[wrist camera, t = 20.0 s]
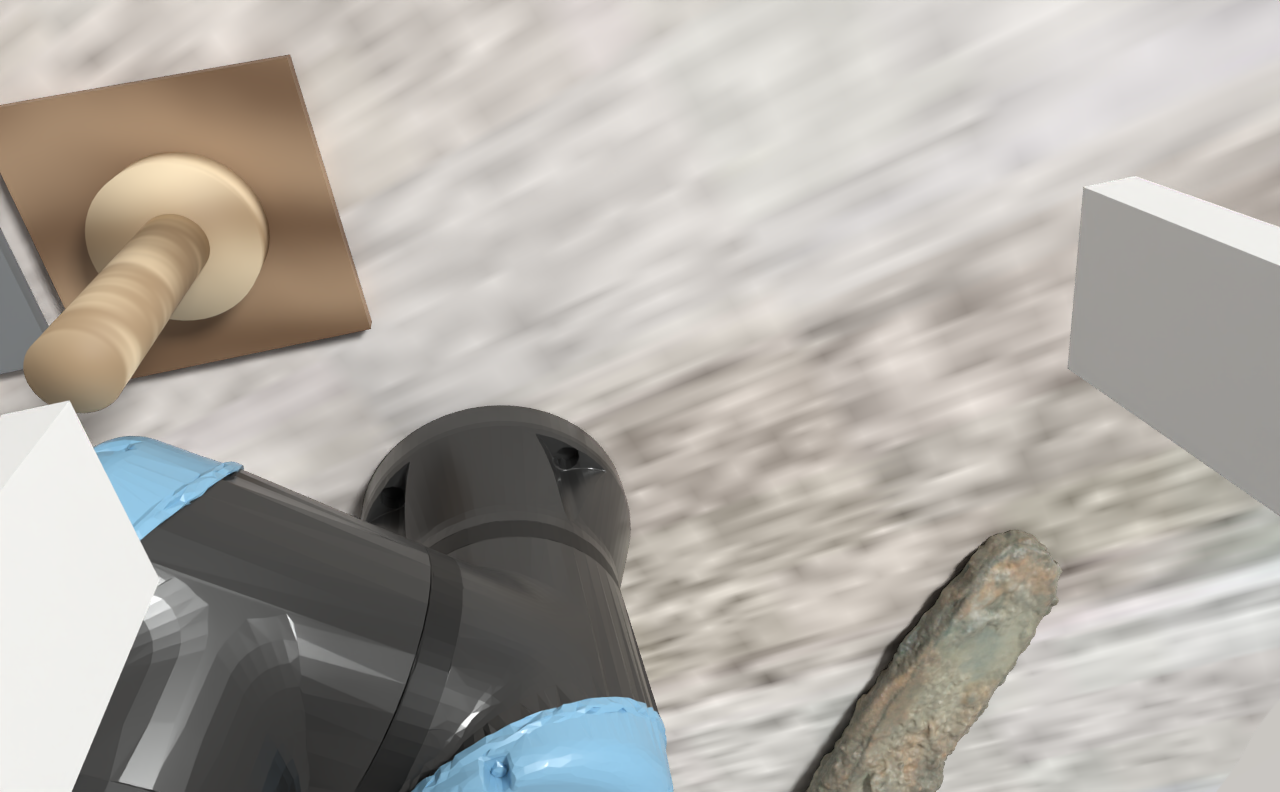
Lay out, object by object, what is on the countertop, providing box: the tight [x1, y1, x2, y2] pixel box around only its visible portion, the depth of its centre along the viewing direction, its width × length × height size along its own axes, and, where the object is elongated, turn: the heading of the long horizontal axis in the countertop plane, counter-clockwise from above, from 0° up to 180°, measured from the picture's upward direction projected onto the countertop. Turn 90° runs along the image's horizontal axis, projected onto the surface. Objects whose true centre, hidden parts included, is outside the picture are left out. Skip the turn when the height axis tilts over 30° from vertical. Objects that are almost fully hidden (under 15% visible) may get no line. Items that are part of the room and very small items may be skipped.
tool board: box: [0, 55, 372, 379], centre depth 43 cm, size 13×13×1 cm
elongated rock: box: [806, 530, 1062, 792], centre depth 67 cm, size 35×5×10 cm
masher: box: [23, 152, 270, 413], centre depth 36 cm, size 7×7×16 cm
